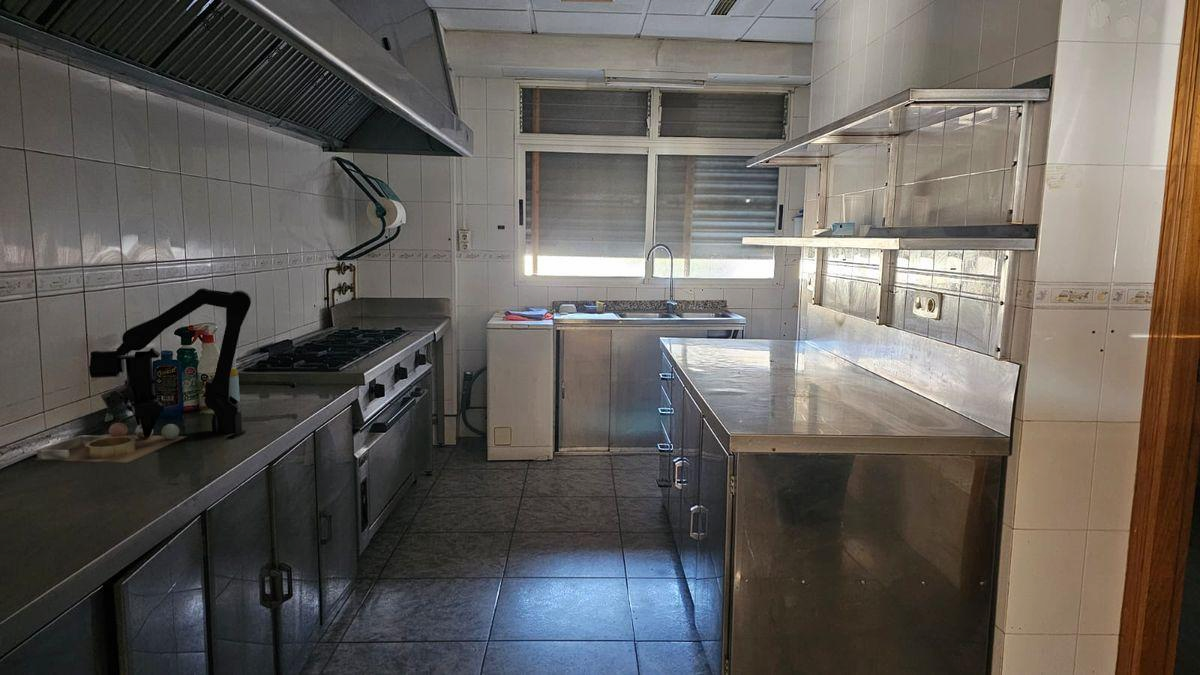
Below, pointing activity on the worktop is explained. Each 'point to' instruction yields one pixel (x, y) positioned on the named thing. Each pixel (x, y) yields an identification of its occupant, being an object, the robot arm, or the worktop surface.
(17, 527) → the worktop surface
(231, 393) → the bottle
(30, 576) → the worktop surface
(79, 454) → the board
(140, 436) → the steel ball
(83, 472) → the worktop surface
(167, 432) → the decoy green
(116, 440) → the race ring
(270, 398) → the worktop surface
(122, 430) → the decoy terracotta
